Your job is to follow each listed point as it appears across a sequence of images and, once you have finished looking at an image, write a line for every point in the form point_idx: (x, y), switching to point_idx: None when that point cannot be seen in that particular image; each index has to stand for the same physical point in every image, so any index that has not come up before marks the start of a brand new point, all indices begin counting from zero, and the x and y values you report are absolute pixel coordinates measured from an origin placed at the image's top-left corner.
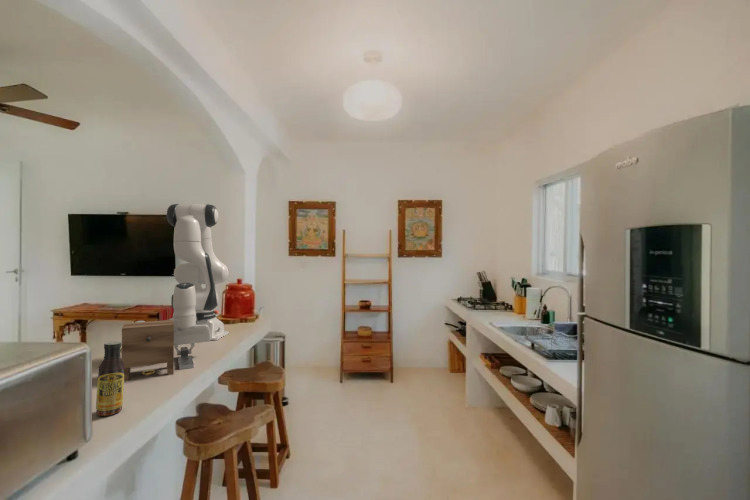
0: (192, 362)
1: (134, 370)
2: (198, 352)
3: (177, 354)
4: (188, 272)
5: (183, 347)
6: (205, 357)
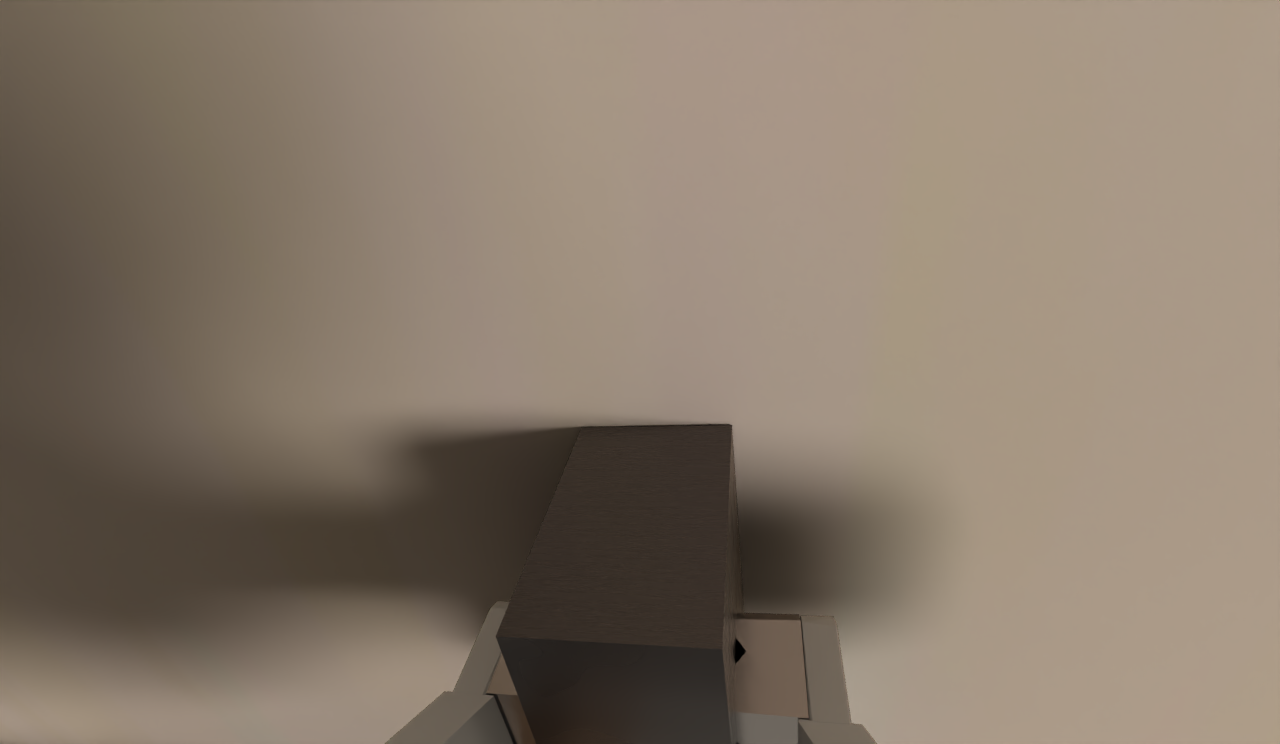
0: None
1: (157, 735)
2: (1129, 158)
3: None
4: None
5: (594, 681)
6: (1111, 680)
